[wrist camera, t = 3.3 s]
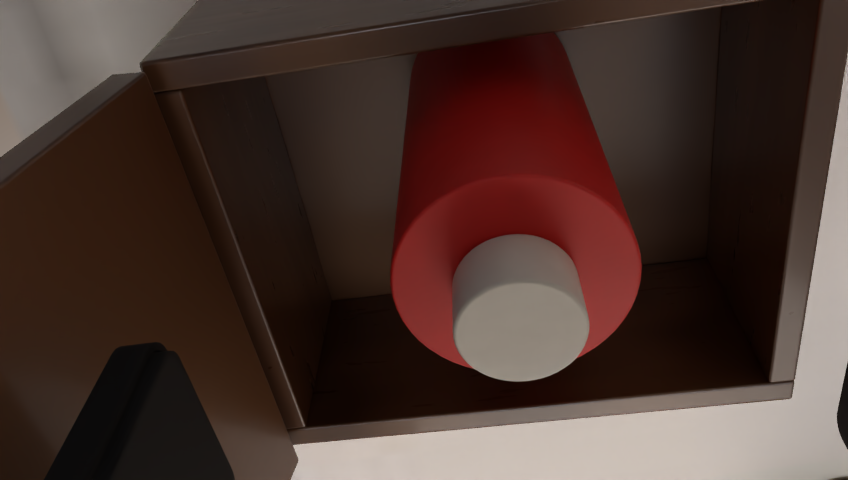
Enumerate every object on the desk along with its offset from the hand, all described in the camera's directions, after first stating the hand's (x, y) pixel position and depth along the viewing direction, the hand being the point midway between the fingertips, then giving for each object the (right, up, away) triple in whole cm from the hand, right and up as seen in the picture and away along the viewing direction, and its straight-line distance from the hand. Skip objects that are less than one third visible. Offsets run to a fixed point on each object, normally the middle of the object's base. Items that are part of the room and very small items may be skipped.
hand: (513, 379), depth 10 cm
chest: (+1, +5, +9) cm, 11 cm away
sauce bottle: (0, +6, +8) cm, 10 cm away
